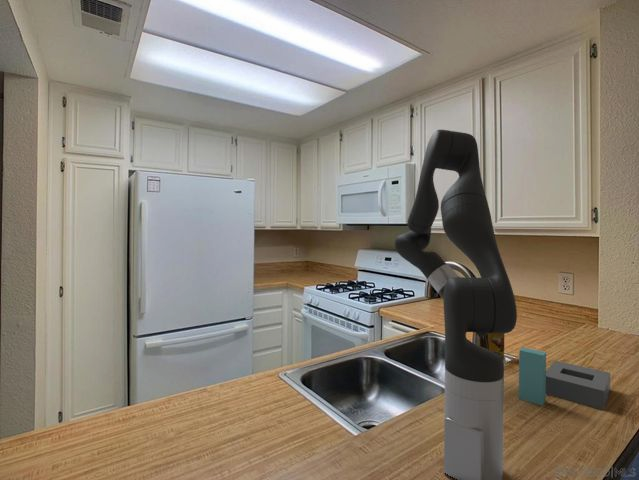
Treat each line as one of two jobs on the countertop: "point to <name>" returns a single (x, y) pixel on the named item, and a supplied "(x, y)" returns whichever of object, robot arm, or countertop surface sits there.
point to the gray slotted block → (578, 384)
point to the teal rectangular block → (532, 376)
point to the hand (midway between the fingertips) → (490, 332)
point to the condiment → (497, 344)
